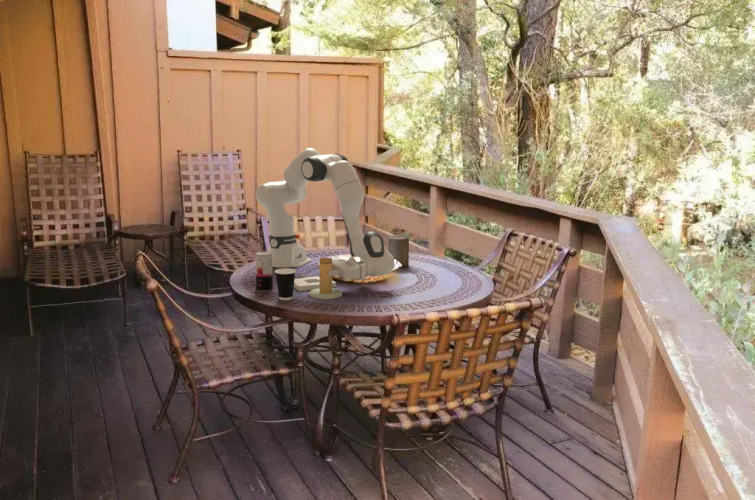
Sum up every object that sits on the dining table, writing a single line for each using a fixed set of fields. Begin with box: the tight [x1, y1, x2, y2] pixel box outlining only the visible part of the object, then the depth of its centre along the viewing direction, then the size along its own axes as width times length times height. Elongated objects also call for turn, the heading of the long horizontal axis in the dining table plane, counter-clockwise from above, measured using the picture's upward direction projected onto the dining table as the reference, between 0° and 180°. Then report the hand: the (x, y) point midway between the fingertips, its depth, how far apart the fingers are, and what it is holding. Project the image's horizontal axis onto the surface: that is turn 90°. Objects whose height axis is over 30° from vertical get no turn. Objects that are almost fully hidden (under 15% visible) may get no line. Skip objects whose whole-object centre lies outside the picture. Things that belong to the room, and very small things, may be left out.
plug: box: [318, 257, 333, 294], centre depth 262 cm, size 5×5×14 cm
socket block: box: [293, 273, 337, 292], centre depth 280 cm, size 16×20×2 cm
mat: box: [308, 287, 343, 300], centre depth 263 cm, size 13×13×1 cm
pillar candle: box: [387, 234, 410, 269], centre depth 313 cm, size 10×10×15 cm
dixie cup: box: [274, 267, 297, 301], centre depth 256 cm, size 8×8×11 cm
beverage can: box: [255, 251, 274, 293], centre depth 268 cm, size 6×7×15 cm
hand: (323, 270), depth 261 cm, fingers open, 8 cm apart
